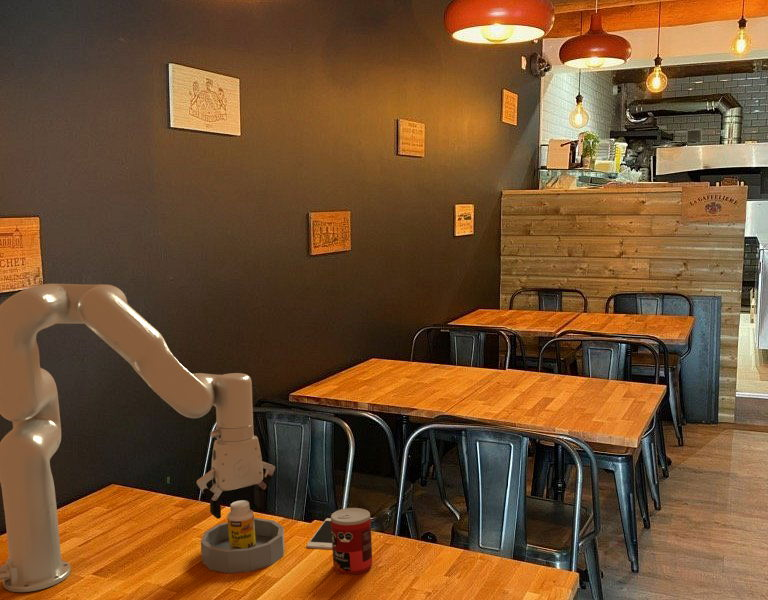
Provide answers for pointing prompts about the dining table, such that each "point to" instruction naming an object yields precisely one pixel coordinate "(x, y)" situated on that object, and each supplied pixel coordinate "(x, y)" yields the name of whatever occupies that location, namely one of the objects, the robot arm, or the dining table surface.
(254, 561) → the bowl
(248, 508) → the supplement bottle
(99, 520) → the dining table surface
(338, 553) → the canned food
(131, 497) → the dining table surface
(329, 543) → the smartphone
